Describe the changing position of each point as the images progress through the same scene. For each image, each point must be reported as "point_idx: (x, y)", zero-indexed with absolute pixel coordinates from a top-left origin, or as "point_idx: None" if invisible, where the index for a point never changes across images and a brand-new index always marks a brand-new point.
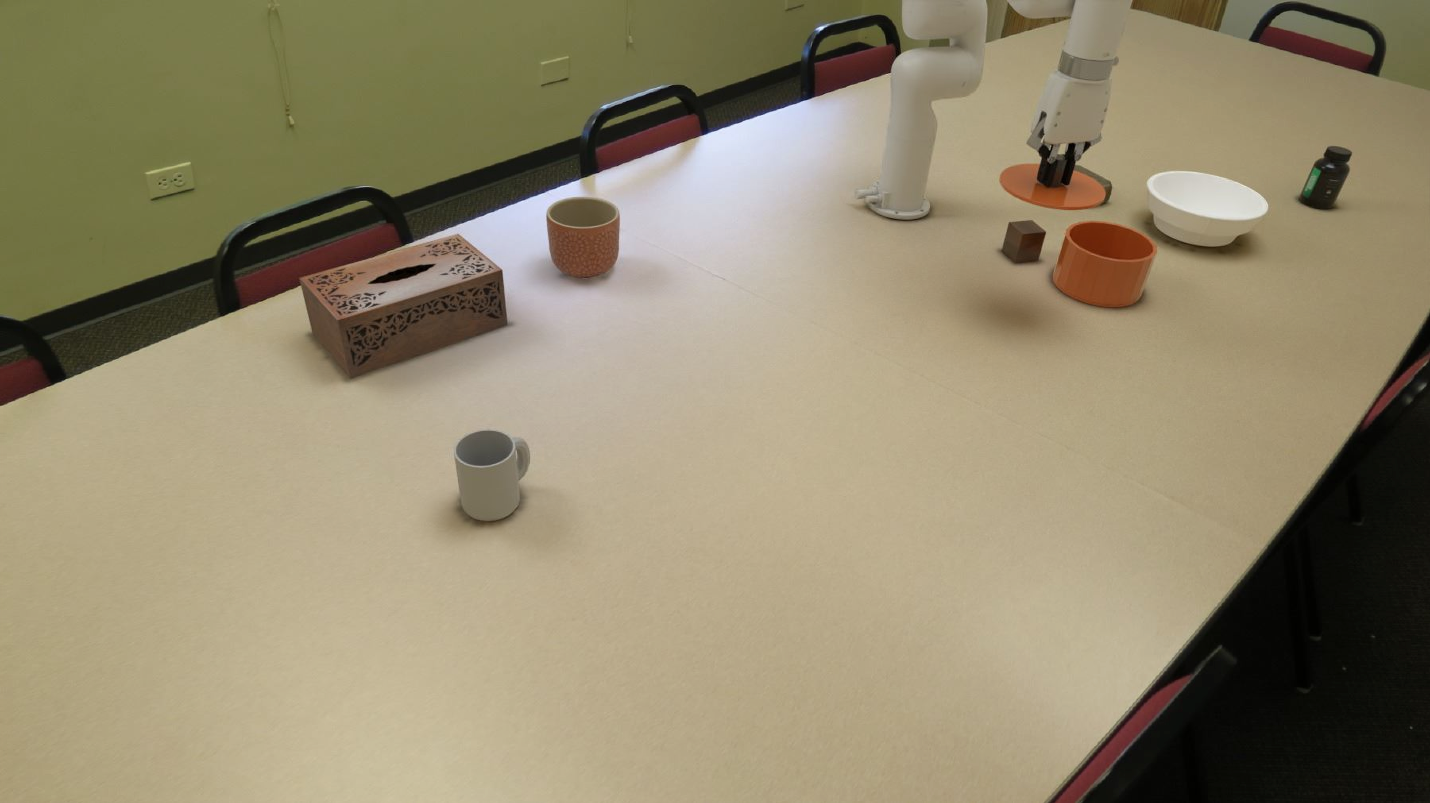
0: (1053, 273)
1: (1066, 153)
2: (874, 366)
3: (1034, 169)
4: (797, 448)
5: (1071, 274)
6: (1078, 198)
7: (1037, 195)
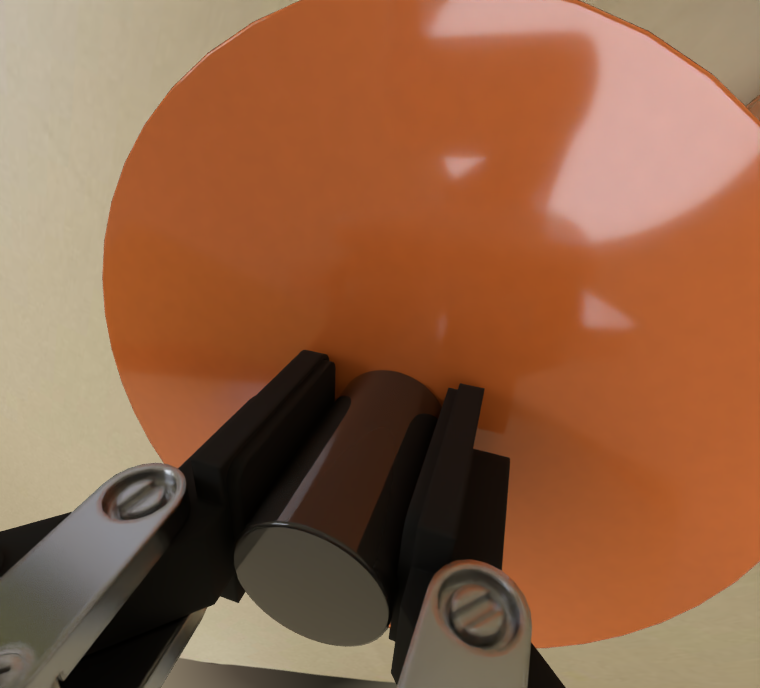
0: (754, 102)
1: (400, 621)
2: None
3: (438, 154)
4: (24, 389)
5: None
6: None
7: None
